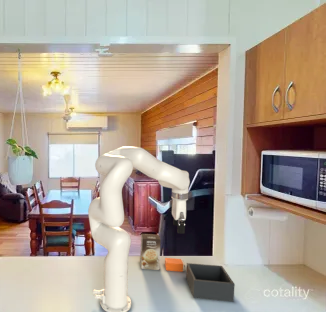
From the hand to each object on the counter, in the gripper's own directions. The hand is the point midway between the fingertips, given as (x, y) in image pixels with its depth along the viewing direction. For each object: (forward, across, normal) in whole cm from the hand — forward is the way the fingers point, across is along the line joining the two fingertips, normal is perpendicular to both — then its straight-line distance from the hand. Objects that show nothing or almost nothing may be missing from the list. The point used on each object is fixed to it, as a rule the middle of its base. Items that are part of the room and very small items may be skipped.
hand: (178, 229), depth 122 cm
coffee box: (+21, 0, -14) cm, 25 cm away
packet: (+21, 0, -2) cm, 21 cm away
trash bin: (+21, +15, +10) cm, 28 cm away
